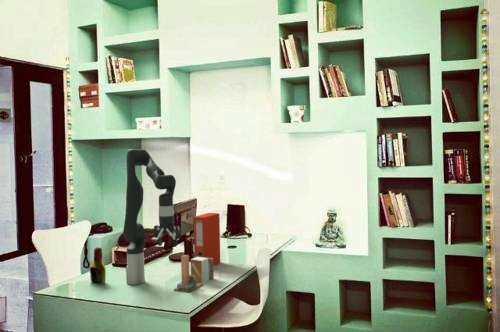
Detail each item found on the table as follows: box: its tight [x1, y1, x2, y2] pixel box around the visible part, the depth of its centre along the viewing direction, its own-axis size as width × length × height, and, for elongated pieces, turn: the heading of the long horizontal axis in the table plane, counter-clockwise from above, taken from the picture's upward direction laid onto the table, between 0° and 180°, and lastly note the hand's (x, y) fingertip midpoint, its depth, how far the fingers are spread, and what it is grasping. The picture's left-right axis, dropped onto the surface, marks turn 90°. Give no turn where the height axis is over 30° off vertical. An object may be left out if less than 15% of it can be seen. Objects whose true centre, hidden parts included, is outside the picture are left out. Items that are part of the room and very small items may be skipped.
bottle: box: [89, 247, 107, 285], centre depth 271 cm, size 12×6×20 cm, turn 48°
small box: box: [190, 257, 210, 284], centre depth 268 cm, size 8×6×13 cm
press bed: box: [173, 257, 215, 294], centre depth 263 cm, size 10×26×12 cm, turn 156°
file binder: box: [193, 212, 221, 267], centre depth 301 cm, size 8×17×32 cm, turn 150°
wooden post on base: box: [176, 254, 196, 290], centre depth 255 cm, size 7×8×17 cm
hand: (167, 246), depth 243 cm, fingers open, 8 cm apart
